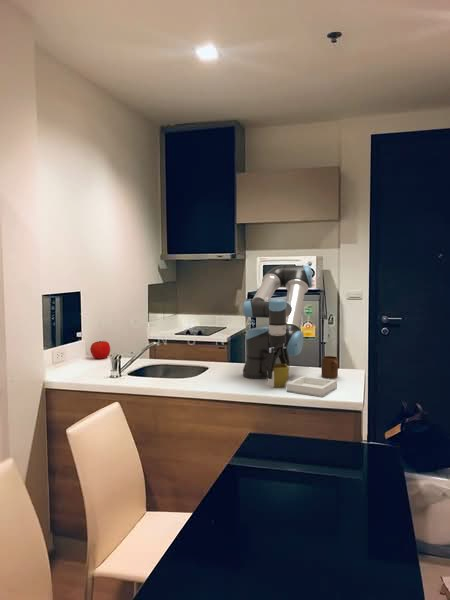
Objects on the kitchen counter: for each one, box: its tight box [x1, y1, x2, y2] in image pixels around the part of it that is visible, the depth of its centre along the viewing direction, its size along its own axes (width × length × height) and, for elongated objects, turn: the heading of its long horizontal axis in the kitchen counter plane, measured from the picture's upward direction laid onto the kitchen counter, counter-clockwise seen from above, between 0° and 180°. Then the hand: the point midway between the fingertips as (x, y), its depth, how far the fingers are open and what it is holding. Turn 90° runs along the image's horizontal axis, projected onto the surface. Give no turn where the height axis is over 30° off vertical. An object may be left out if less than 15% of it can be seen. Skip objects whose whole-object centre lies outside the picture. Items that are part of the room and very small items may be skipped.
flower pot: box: [267, 363, 290, 388], centre depth 223 cm, size 9×9×9 cm
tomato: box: [89, 340, 111, 360], centre depth 289 cm, size 11×13×10 cm
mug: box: [321, 355, 339, 380], centre depth 237 cm, size 12×8×9 cm, turn 13°
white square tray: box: [286, 375, 338, 398], centre depth 216 cm, size 16×16×4 cm
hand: (277, 383), depth 224 cm, fingers closed on flower pot, 11 cm apart
